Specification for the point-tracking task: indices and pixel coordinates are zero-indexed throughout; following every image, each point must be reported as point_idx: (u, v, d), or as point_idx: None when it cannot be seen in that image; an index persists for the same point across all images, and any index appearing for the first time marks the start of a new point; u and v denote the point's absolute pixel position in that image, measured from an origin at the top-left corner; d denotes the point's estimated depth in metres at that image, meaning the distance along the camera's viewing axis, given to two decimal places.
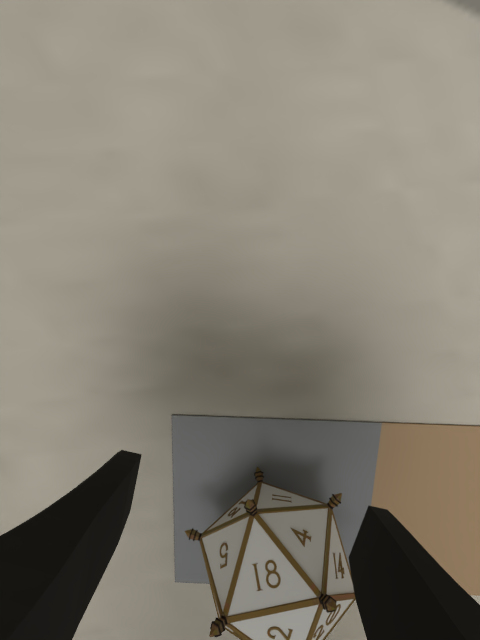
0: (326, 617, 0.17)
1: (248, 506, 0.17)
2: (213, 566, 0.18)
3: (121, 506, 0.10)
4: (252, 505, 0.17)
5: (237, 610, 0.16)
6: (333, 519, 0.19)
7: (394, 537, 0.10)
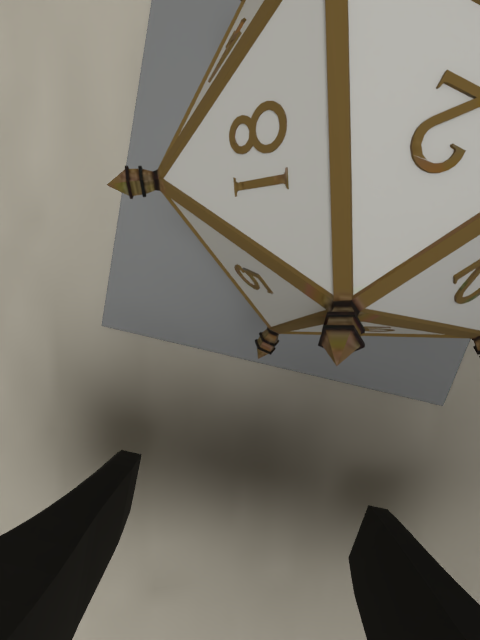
0: None
1: (122, 185, 0.07)
2: (282, 312, 0.07)
3: (121, 506, 0.10)
4: (122, 174, 0.07)
5: (324, 260, 0.05)
6: None
7: (394, 537, 0.10)
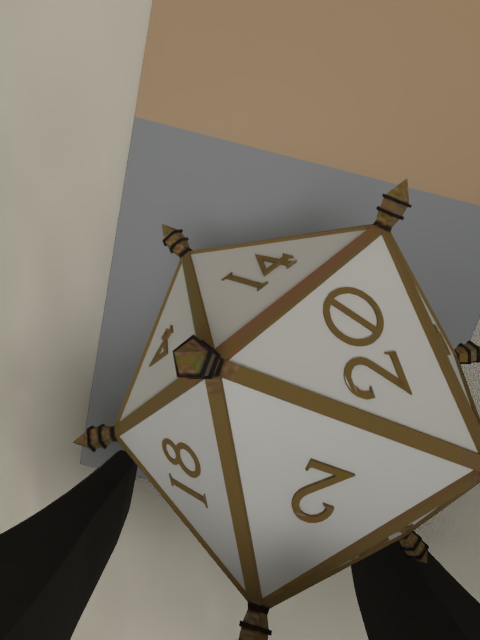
0: (332, 343, 0.06)
1: (85, 444, 0.08)
2: None
3: (120, 506, 0.10)
4: (84, 436, 0.08)
5: (238, 568, 0.06)
6: (204, 253, 0.08)
7: None
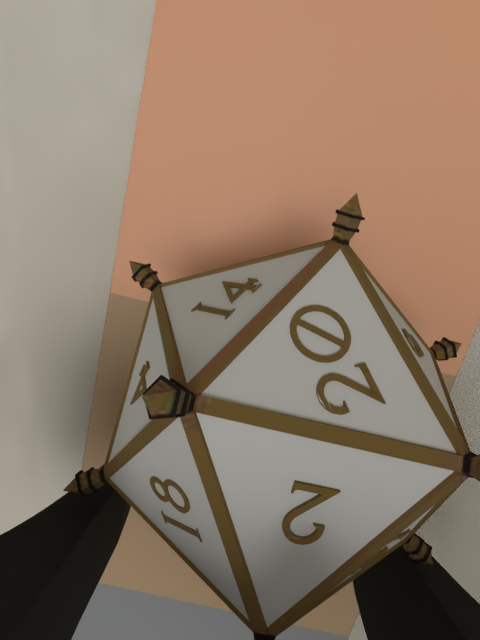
0: (303, 363, 0.06)
1: (76, 491, 0.08)
2: None
3: (120, 506, 0.10)
4: (74, 482, 0.08)
5: (240, 600, 0.06)
6: (173, 284, 0.09)
7: None
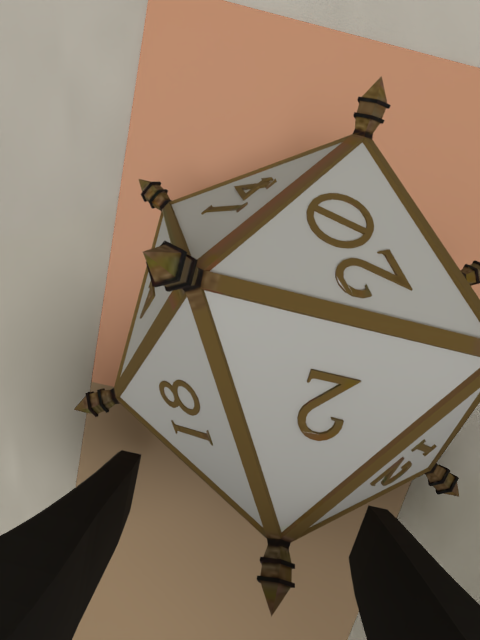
0: (320, 248, 0.05)
1: (87, 409, 0.08)
2: None
3: (121, 506, 0.10)
4: (85, 401, 0.08)
5: (252, 504, 0.06)
6: (184, 200, 0.08)
7: (394, 537, 0.10)
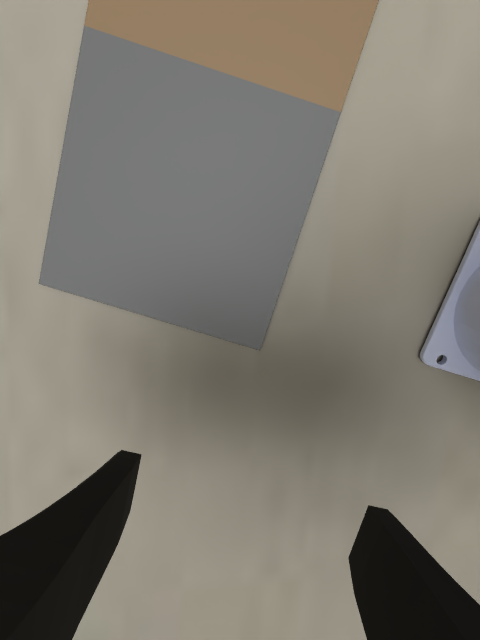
0: None
1: None
2: None
3: (121, 506, 0.10)
4: None
5: None
6: None
7: (394, 537, 0.10)
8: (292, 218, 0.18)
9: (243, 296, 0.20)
